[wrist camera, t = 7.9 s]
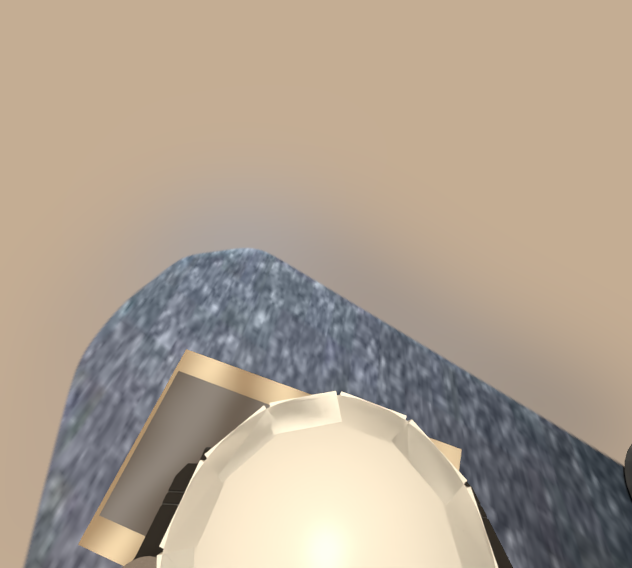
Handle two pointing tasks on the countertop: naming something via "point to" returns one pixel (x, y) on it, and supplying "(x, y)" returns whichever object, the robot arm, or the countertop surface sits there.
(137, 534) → the board
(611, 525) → the countertop surface
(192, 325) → the countertop surface
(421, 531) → the cover cup
